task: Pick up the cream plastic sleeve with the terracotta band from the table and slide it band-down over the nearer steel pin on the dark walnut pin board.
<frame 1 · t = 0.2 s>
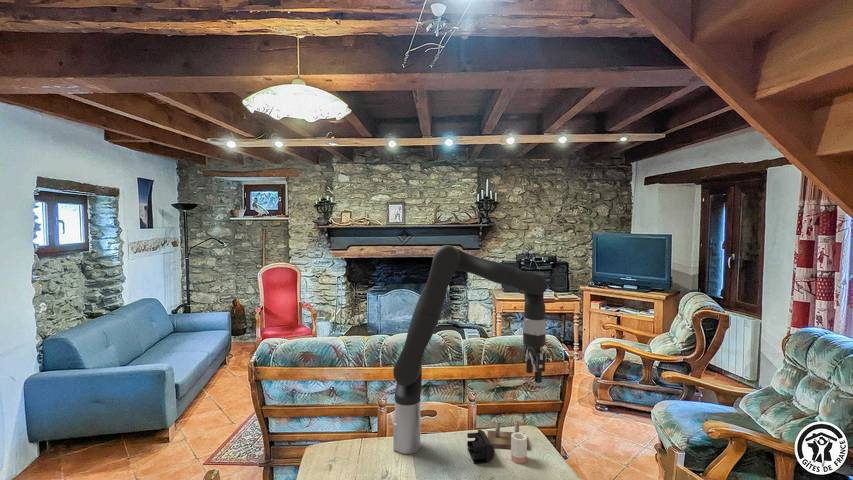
hand: (533, 377, 135), 27 cm above the table, tool pointing down, fingers open, 8 cm apart
pin board: (507, 442, 145), on the table
end cap: (480, 456, 136), on the table
sleeve: (518, 459, 134), on the table
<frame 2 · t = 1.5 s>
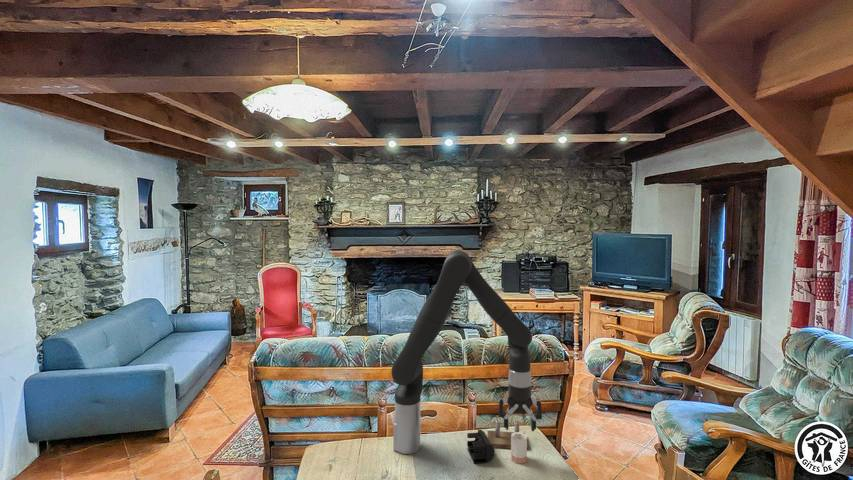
hand: (519, 429, 133), 10 cm above the table, tool pointing down, fingers open, 8 cm apart
nothing on the table moved.
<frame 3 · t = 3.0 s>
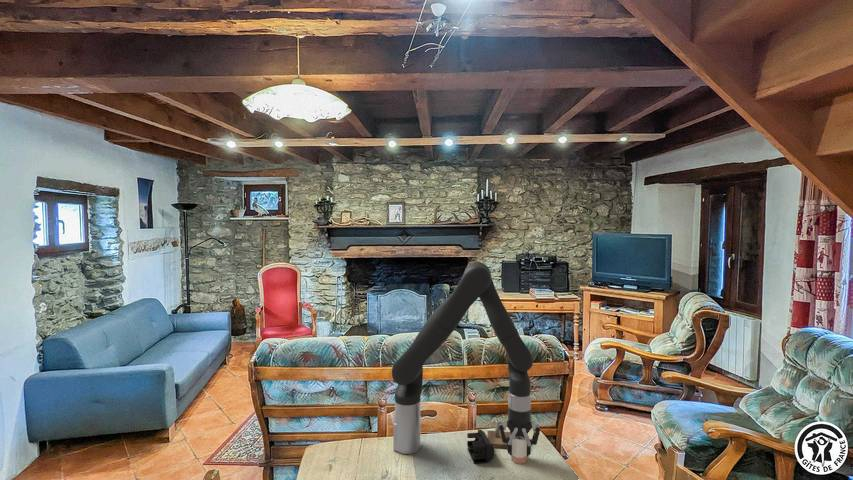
hand: (518, 454, 134), 2 cm above the table, tool pointing down, fingers closed on sleeve, 5 cm apart
sleeve: (518, 459, 134), on the table, touching gripper
everything else where it was.
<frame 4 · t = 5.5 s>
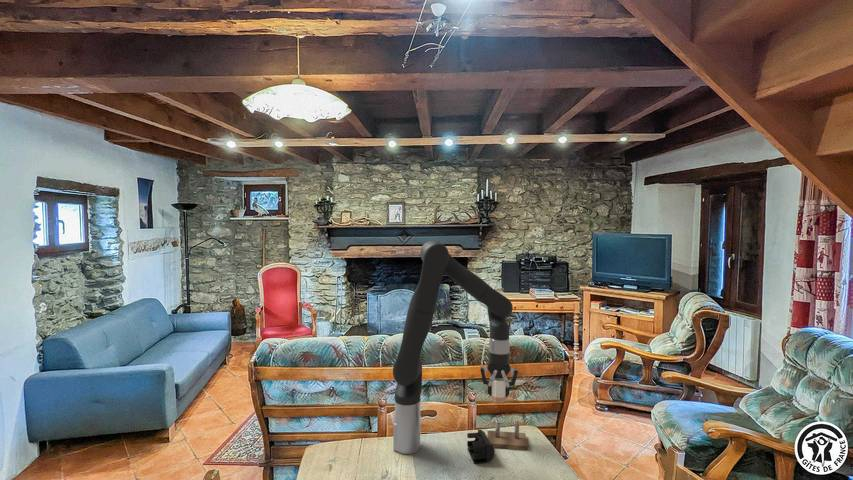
hand: (498, 395, 144), 17 cm above the table, tool pointing down, fingers closed on sleeve, 5 cm apart
sleeve: (498, 399, 144), point 16 cm above the table, touching gripper
everything else where it was.
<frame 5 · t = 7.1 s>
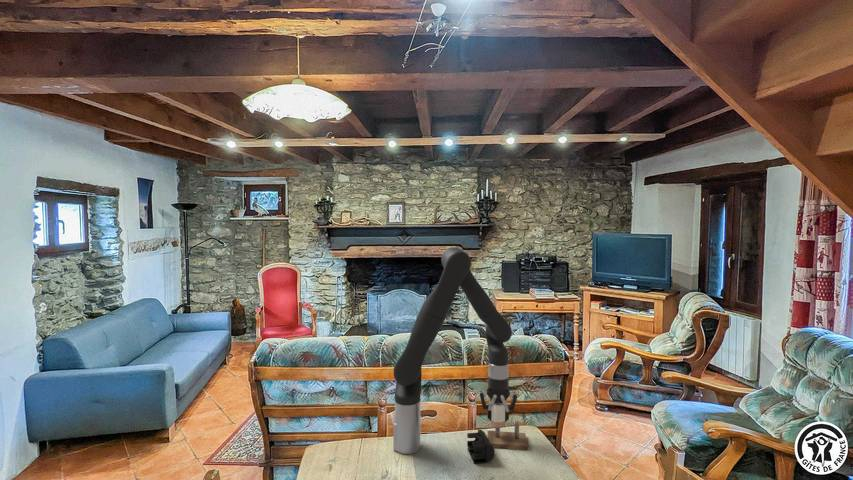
hand: (498, 420, 145), 8 cm above the table, tool pointing down, fingers closed on sleeve, 5 cm apart
sleeve: (498, 424, 145), point 6 cm above the table, touching gripper
everything else where it was.
when the fingers open (4 cm above the table, at t = 8.3 s): sleeve stays where it is, resting on pin board.
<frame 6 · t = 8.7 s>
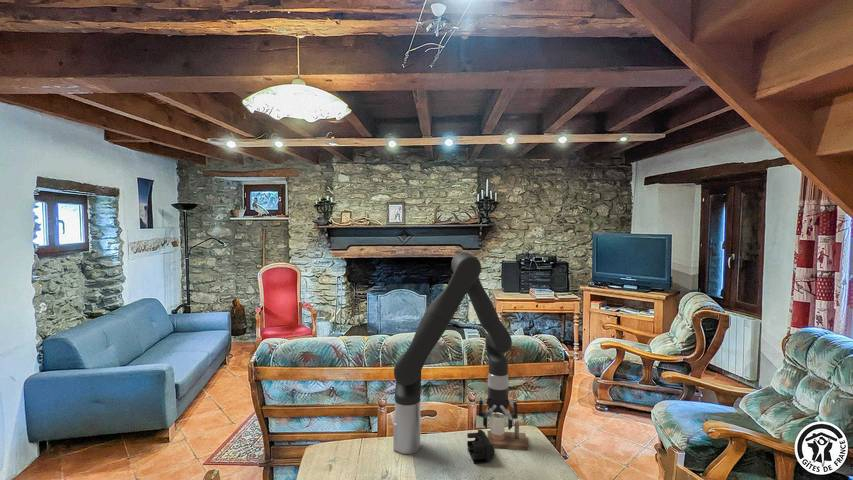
hand: (497, 427, 145), 5 cm above the table, tool pointing down, fingers open, 8 cm apart
sleeve: (497, 436, 146), point 1 cm above the table, touching pin board
everything else where it was.
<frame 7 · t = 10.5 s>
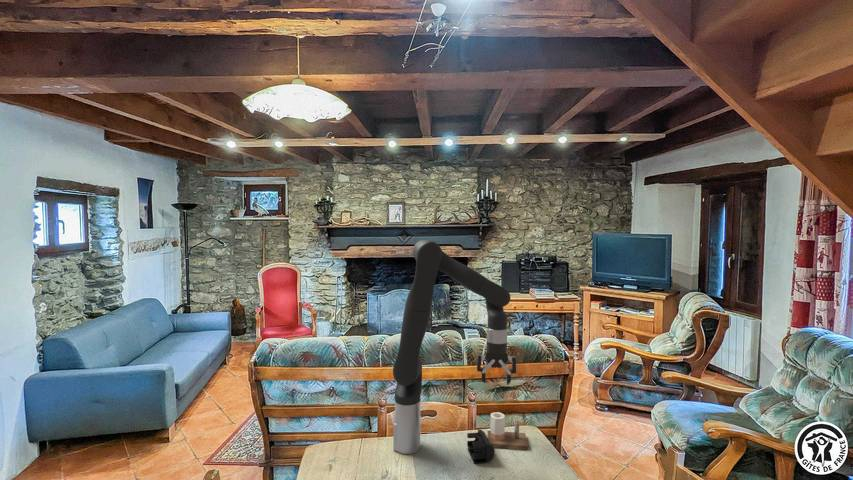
hand: (496, 383, 146), 21 cm above the table, tool pointing down, fingers open, 8 cm apart
nothing on the table moved.
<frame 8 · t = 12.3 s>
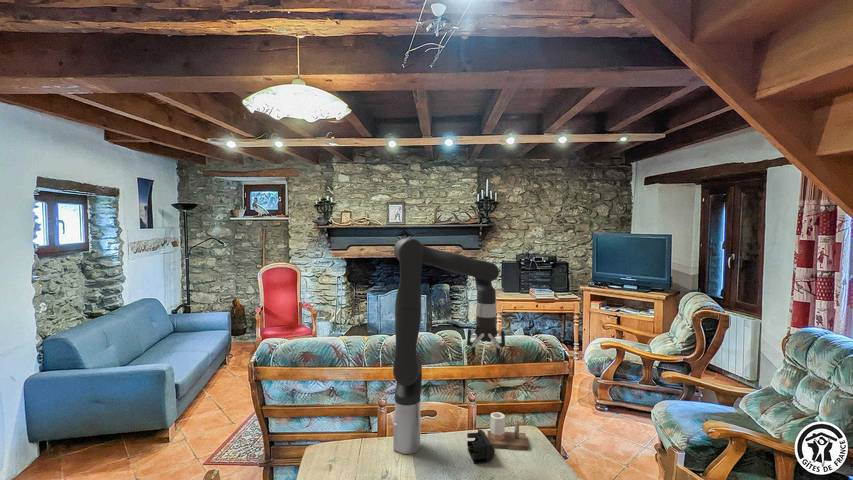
hand: (485, 356, 149), 30 cm above the table, tool pointing down, fingers open, 8 cm apart
nothing on the table moved.
at the end: sleeve 0.1 cm from the target spot on the pin board, point 1.5 cm above the pin board's base; sleeve tilted 0°; the gripper is holding nothing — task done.
